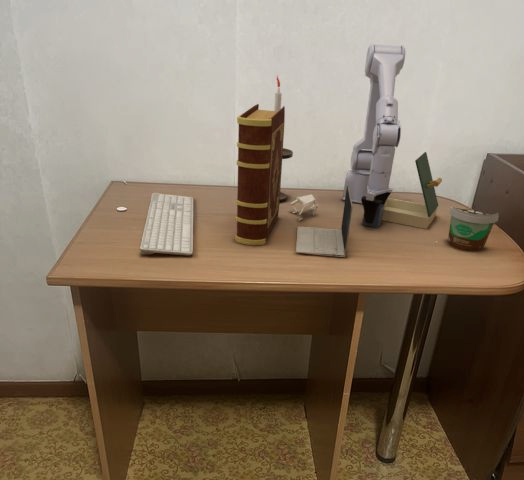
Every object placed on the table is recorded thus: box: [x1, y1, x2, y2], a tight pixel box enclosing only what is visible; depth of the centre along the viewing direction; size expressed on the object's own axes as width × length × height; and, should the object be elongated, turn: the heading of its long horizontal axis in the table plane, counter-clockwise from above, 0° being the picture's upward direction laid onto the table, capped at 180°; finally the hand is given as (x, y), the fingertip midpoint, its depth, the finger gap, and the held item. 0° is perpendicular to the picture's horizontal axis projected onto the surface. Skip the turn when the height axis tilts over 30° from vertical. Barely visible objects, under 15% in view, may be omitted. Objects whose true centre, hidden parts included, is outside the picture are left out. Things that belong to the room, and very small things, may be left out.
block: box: [361, 204, 385, 228], centre depth 149 cm, size 4×4×6 cm
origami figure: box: [289, 193, 319, 222], centre depth 152 cm, size 12×8×5 cm
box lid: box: [414, 151, 443, 217], centre depth 148 cm, size 16×12×4 cm
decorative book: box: [234, 103, 286, 246], centre depth 134 cm, size 22×8×30 cm, turn 168°
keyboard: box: [139, 192, 194, 257], centre depth 142 cm, size 44×12×2 cm, turn 6°
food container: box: [447, 203, 499, 252], centre depth 135 cm, size 12×6×10 cm, turn 62°
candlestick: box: [273, 74, 294, 203], centre depth 157 cm, size 11×11×35 cm
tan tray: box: [382, 197, 438, 230], centre depth 155 cm, size 16×12×3 cm
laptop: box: [295, 185, 353, 258], centre depth 133 cm, size 18×12×13 cm
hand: (372, 219), depth 149 cm, fingers open, 7 cm apart
